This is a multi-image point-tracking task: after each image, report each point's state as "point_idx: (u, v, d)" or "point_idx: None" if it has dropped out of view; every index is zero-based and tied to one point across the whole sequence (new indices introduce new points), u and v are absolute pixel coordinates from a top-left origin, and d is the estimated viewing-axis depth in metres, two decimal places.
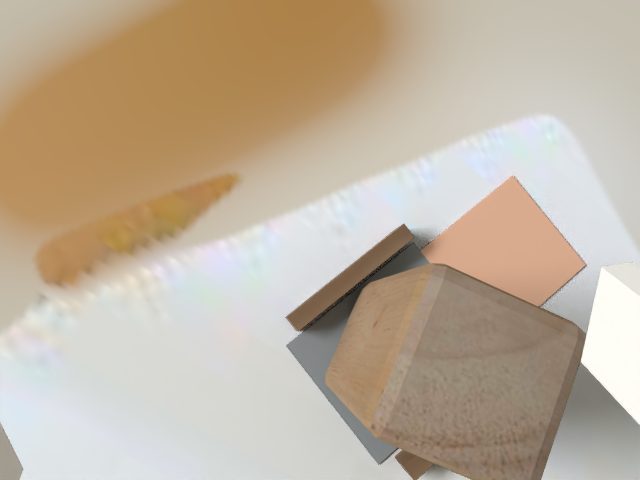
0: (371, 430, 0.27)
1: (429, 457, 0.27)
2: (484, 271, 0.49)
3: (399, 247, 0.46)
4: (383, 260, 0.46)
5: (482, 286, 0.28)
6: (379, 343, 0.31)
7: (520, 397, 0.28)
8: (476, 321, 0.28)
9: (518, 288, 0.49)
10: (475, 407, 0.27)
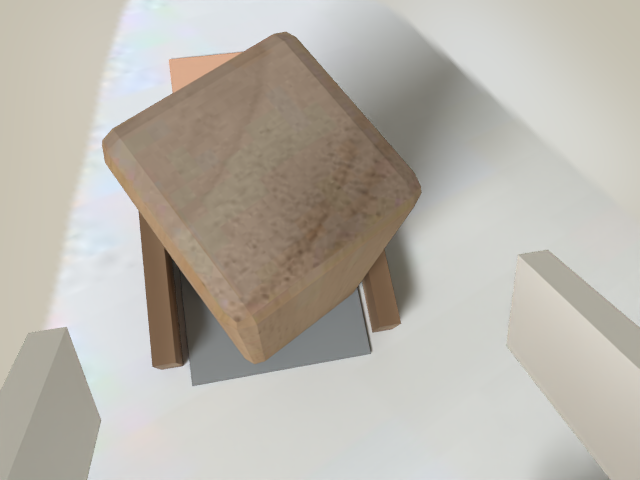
0: (243, 324, 0.20)
1: (312, 272, 0.20)
2: None
3: None
4: None
5: (160, 103, 0.21)
6: None
7: (307, 133, 0.21)
8: (192, 131, 0.21)
9: None
10: (286, 187, 0.21)
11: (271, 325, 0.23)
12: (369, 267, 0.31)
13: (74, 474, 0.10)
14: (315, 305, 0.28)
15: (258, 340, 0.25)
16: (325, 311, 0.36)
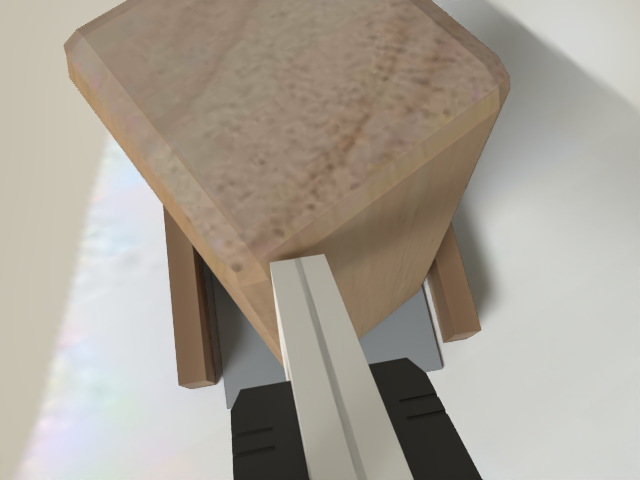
0: (247, 277, 0.13)
1: (349, 198, 0.13)
2: None
3: None
4: None
5: None
6: None
7: (337, 13, 0.15)
8: (179, 21, 0.15)
9: None
10: (309, 83, 0.14)
11: None
12: (438, 241, 0.24)
13: None
14: (367, 287, 0.21)
15: None
16: (384, 310, 0.29)
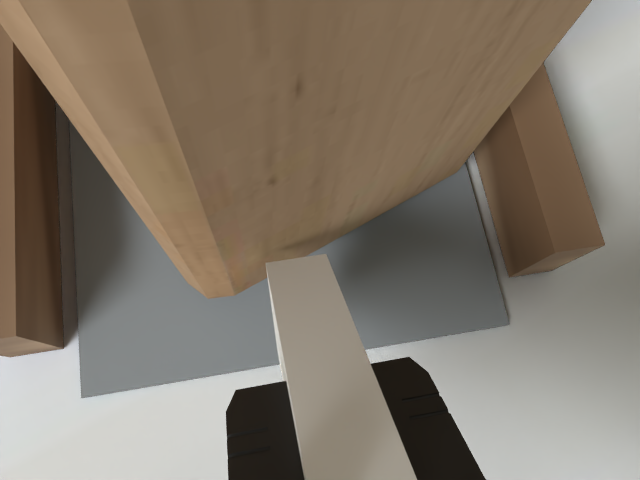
0: None
1: None
2: None
3: None
4: None
5: None
6: None
7: None
8: None
9: None
10: None
11: None
12: None
13: None
14: None
15: None
16: (400, 182, 0.14)
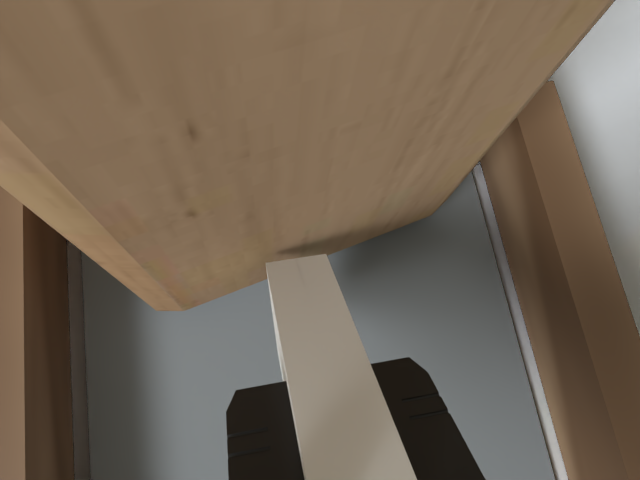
0: None
1: None
2: None
3: None
4: (18, 261, 0.13)
5: None
6: None
7: None
8: None
9: None
10: None
11: None
12: (568, 38, 0.08)
13: None
14: (341, 49, 0.06)
15: None
16: (361, 221, 0.14)
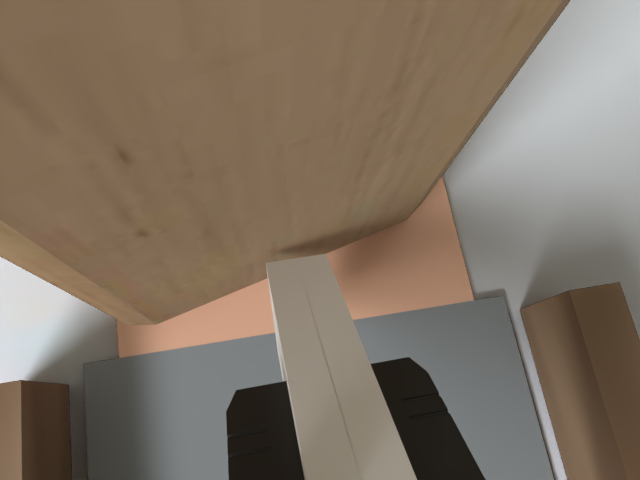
0: None
1: None
2: None
3: (15, 456, 0.12)
4: None
5: None
6: None
7: None
8: None
9: None
10: None
11: None
12: (519, 46, 0.08)
13: None
14: (272, 69, 0.06)
15: None
16: (331, 230, 0.14)
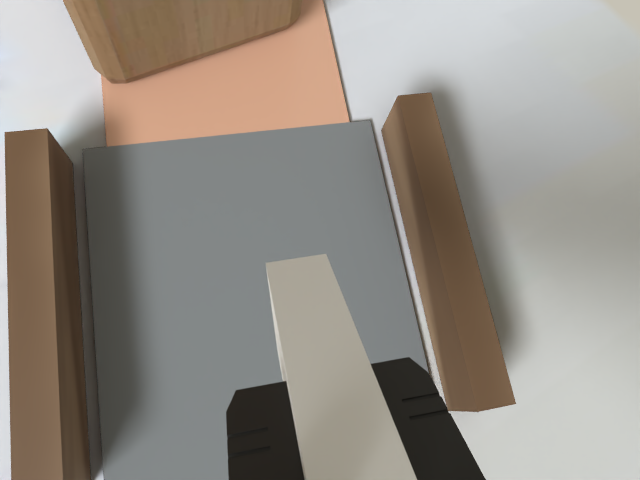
0: None
1: None
2: (217, 66, 0.25)
3: (45, 168, 0.20)
4: (47, 215, 0.19)
5: None
6: None
7: None
8: None
9: (280, 33, 0.26)
10: None
11: None
12: None
13: None
14: None
15: None
16: (232, 6, 0.22)
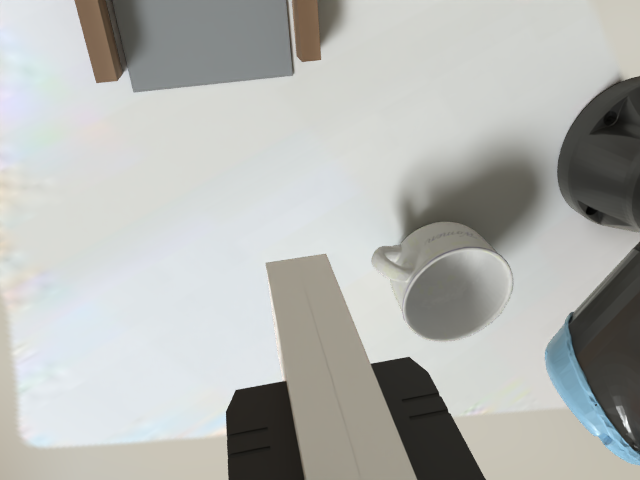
0: None
1: None
2: None
3: None
4: None
5: None
6: None
7: None
8: None
9: None
10: None
11: None
12: None
13: None
14: None
15: None
16: None
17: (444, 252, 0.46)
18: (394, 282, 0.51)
